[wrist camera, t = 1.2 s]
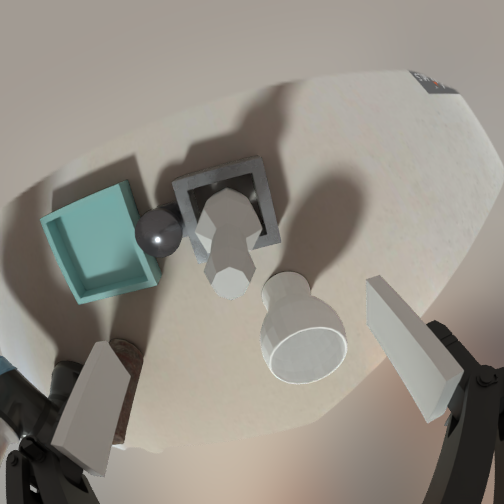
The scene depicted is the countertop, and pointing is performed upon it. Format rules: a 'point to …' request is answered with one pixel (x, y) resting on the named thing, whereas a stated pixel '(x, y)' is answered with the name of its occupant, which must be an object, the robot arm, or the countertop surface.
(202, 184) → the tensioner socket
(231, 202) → the grey faceted bottle
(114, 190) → the tray
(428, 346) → the robot arm
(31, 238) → the countertop surface
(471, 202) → the countertop surface
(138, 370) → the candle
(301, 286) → the cup
